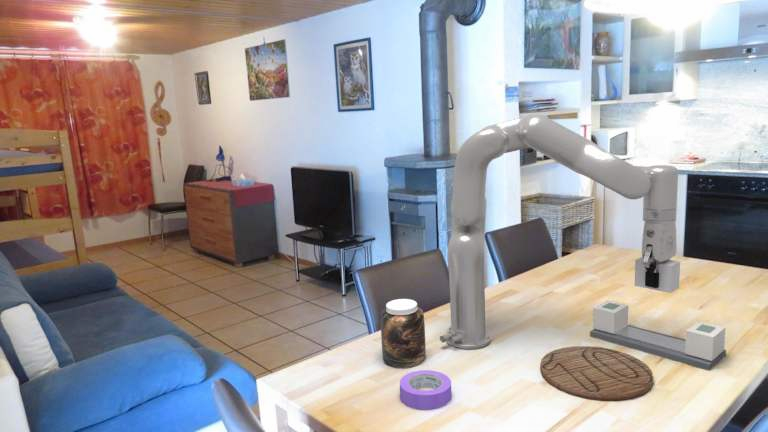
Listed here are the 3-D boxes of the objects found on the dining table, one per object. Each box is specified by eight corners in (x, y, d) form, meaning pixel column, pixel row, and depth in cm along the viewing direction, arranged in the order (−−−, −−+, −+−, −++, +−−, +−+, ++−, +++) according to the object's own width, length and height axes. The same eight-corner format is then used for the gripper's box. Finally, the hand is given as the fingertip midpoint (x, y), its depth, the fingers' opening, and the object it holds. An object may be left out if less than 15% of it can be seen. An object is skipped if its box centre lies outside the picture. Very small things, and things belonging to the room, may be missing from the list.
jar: (376, 353, 147) (372, 301, 144) (415, 345, 151) (413, 294, 148) (391, 372, 136) (388, 315, 133) (433, 362, 140) (431, 307, 137)
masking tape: (447, 383, 129) (447, 368, 129) (455, 409, 118) (455, 392, 117) (398, 386, 129) (397, 371, 128) (402, 412, 118) (401, 396, 117)
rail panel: (709, 370, 128) (709, 363, 128) (590, 336, 151) (590, 329, 150) (725, 355, 135) (726, 348, 135) (609, 324, 158) (609, 318, 157)
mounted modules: (711, 361, 129) (713, 336, 128) (592, 328, 151) (593, 307, 150) (724, 350, 134) (725, 326, 133) (607, 320, 156) (607, 299, 155)
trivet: (582, 412, 114) (582, 404, 114) (520, 362, 138) (520, 355, 138) (678, 389, 121) (679, 382, 121) (604, 346, 145) (604, 339, 144)
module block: (670, 293, 135) (671, 265, 134) (634, 285, 142) (635, 259, 140) (678, 288, 138) (680, 261, 137) (643, 281, 145) (644, 255, 144)
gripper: (660, 222, 128) (657, 295, 132) (688, 211, 139) (685, 279, 142) (628, 218, 134) (626, 289, 137) (658, 208, 145) (656, 274, 148)
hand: (656, 283), depth 140 cm, fingers closed on module block, 5 cm apart
